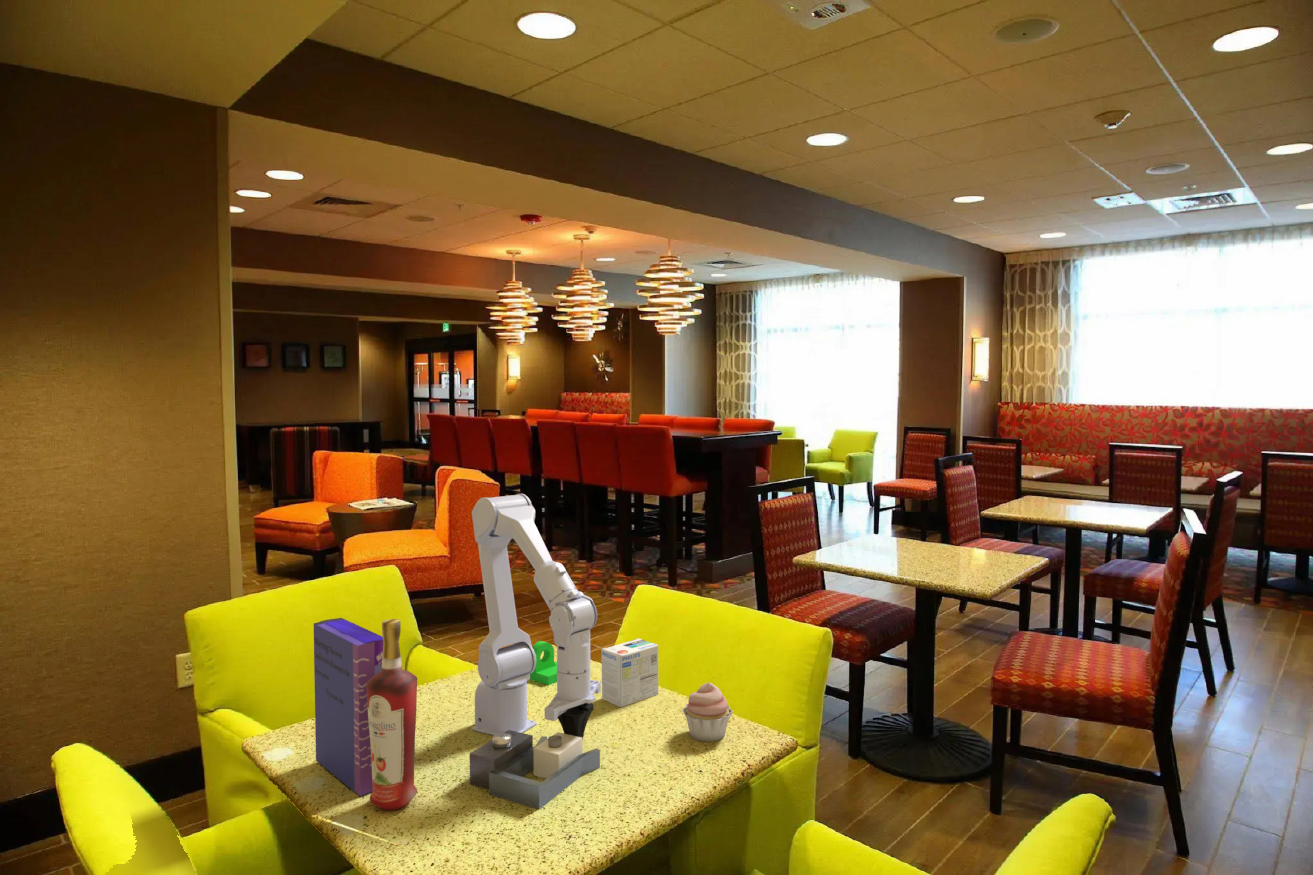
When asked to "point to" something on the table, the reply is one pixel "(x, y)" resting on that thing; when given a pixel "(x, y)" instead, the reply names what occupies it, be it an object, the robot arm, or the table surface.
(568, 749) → the block
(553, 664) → the mechanical part
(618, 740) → the table surface
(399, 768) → the liquor
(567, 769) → the motor bracket
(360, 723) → the cereal box
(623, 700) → the light bulb box
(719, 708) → the cupcake
